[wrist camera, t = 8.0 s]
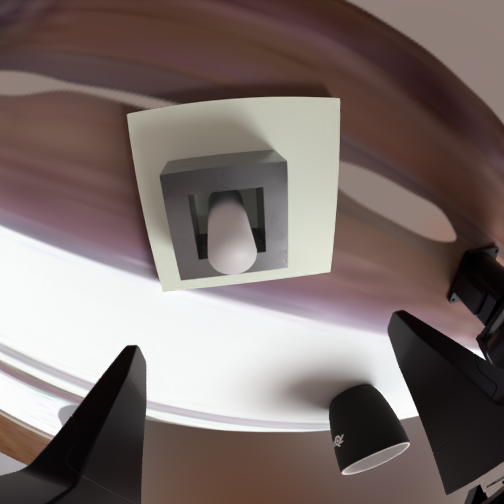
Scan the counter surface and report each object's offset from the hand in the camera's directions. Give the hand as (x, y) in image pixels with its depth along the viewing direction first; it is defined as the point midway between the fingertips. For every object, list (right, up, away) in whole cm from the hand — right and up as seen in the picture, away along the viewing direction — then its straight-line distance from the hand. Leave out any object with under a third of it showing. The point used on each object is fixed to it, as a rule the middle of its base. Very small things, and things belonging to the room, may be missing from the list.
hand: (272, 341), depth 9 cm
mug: (+13, -18, +25) cm, 34 cm away
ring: (-2, +6, +8) cm, 10 cm away
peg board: (-1, +6, +9) cm, 11 cm away
